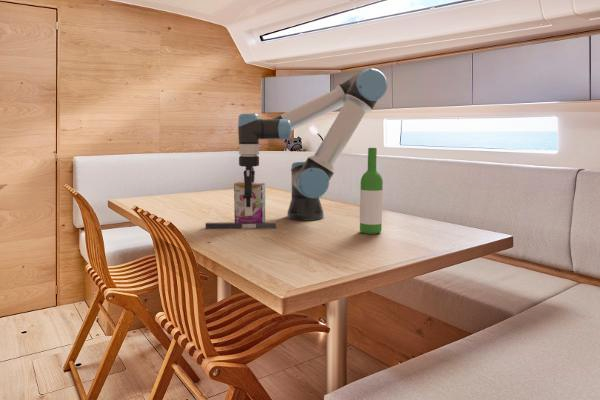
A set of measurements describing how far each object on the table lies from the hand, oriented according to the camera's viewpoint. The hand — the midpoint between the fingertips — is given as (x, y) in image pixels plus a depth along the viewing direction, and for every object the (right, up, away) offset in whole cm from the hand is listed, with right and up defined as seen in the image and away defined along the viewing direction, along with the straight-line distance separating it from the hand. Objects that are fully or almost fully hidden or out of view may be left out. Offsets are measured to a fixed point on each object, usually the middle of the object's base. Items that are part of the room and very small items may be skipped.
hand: (249, 212), depth 177 cm
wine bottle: (+44, -7, -11) cm, 46 cm away
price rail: (-3, -6, -4) cm, 7 cm away
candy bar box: (0, -5, +1) cm, 5 cm away
